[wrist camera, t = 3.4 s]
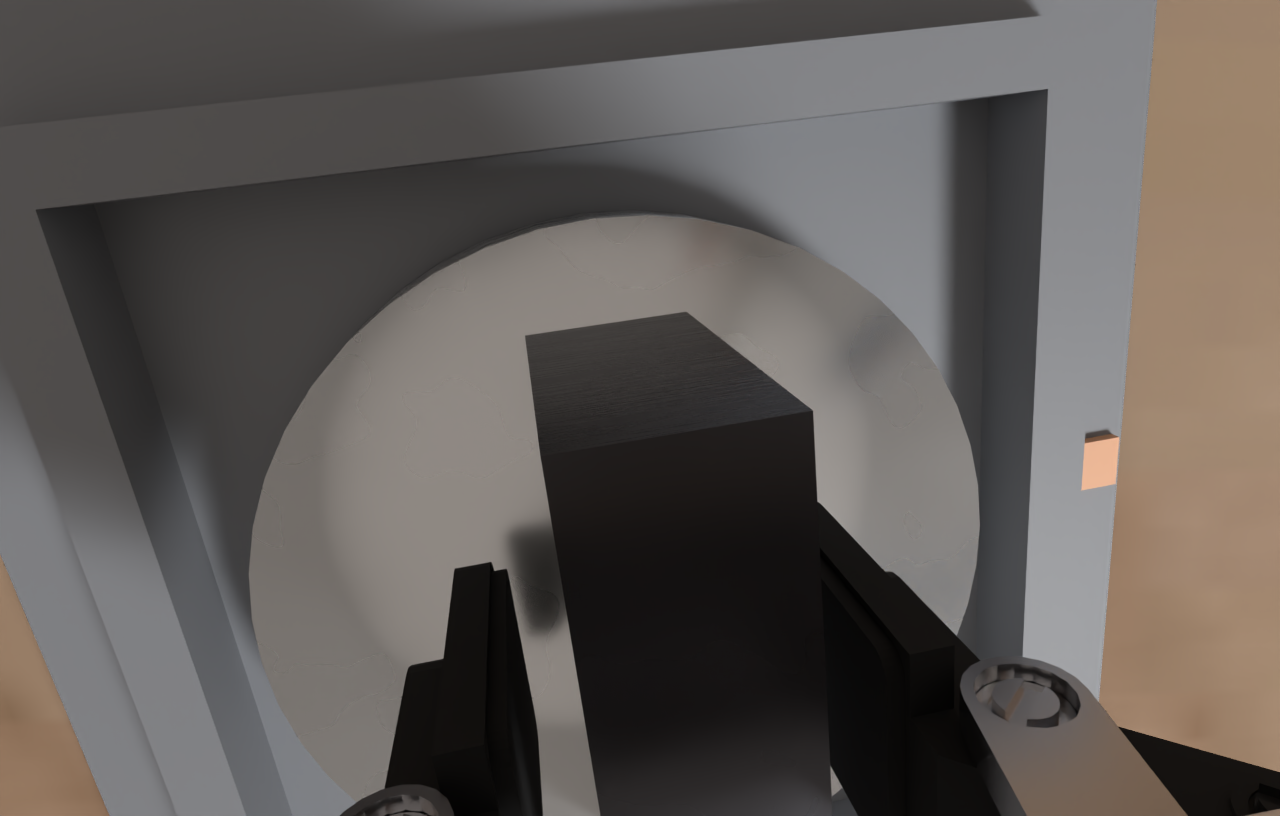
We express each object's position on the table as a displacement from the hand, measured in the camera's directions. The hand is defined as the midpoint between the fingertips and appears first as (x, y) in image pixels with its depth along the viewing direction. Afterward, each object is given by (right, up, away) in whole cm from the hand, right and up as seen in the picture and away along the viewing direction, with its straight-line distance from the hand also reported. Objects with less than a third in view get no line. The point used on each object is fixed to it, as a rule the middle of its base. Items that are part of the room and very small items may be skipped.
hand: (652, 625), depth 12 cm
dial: (0, +1, +2) cm, 3 cm away
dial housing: (-1, +1, +4) cm, 4 cm away
